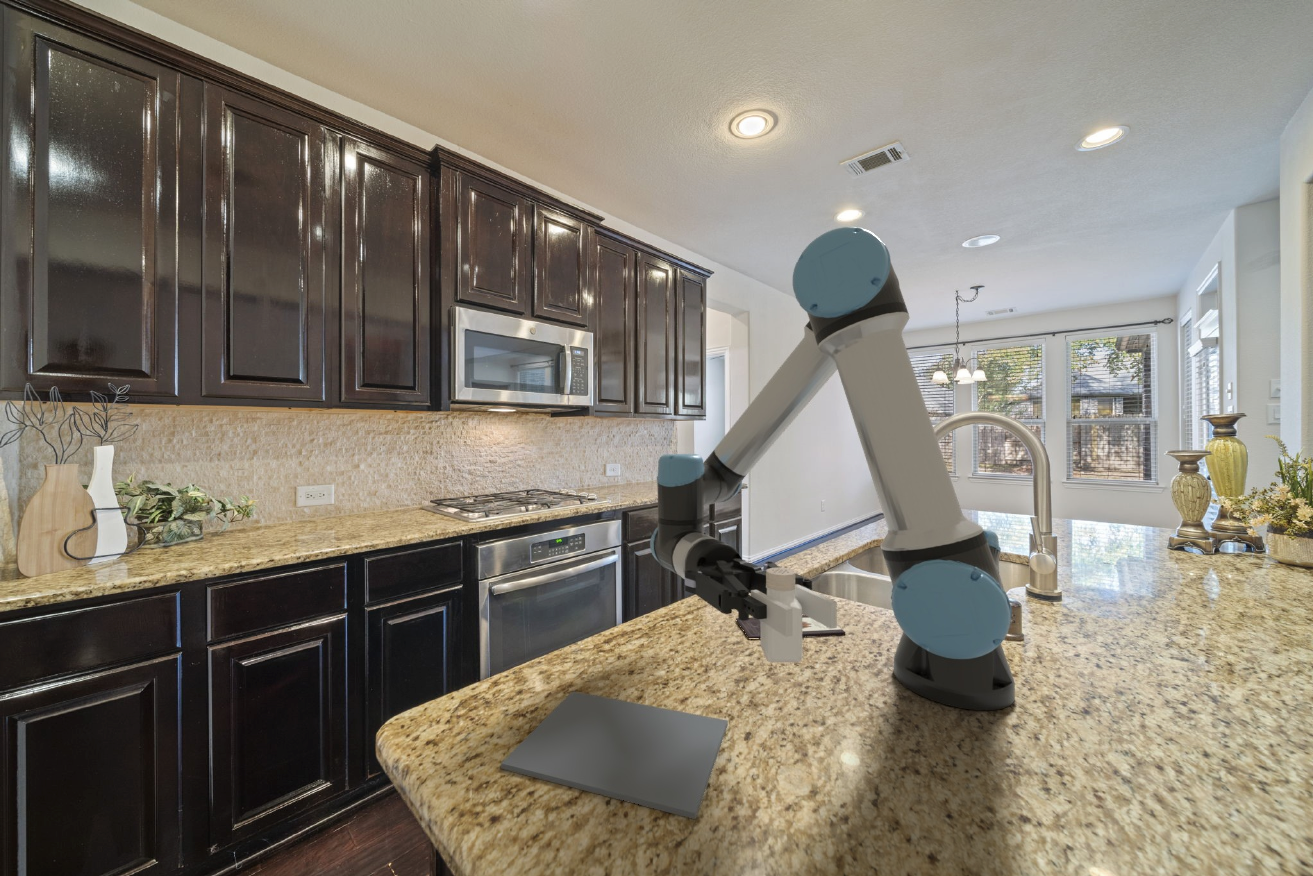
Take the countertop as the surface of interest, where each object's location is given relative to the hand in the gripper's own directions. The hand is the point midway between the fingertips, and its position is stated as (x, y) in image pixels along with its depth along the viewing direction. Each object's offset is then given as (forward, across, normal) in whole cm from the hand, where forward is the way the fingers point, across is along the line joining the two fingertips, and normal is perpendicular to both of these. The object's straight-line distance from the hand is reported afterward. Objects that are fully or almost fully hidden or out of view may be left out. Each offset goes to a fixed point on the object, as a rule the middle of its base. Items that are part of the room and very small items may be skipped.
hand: (811, 618), depth 50 cm
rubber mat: (-15, +16, -18) cm, 28 cm away
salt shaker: (-5, 0, -6) cm, 8 cm away
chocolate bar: (-37, -24, -18) cm, 48 cm away
